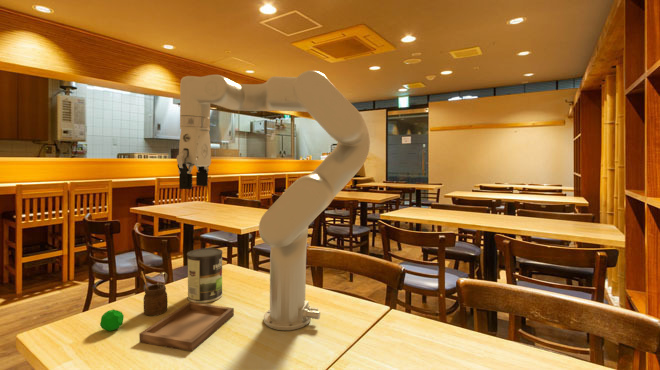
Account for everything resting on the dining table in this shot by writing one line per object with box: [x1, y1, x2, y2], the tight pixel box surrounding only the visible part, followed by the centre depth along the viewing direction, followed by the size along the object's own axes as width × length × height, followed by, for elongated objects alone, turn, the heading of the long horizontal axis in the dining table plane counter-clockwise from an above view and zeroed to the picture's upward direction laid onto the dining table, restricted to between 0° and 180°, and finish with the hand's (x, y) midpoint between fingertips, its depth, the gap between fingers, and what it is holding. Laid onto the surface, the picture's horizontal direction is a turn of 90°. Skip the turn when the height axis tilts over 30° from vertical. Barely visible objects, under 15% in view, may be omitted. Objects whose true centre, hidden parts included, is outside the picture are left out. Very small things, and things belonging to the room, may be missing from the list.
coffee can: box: [186, 247, 223, 304], centre depth 104 cm, size 10×10×14 cm
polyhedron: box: [99, 309, 125, 332], centre depth 83 cm, size 5×5×5 cm
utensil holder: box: [141, 271, 169, 317], centre depth 93 cm, size 6×6×12 cm
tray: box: [138, 301, 235, 352], centre depth 85 cm, size 14×18×2 cm
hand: (194, 187), depth 92 cm, fingers open, 9 cm apart
